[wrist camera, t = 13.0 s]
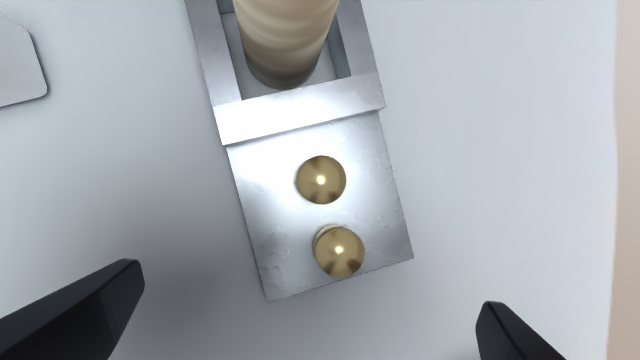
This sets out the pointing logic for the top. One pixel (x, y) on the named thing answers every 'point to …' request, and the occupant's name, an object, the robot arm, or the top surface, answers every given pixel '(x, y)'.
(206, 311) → the top surface
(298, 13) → the pin
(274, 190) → the mounting plate
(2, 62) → the salt shaker
